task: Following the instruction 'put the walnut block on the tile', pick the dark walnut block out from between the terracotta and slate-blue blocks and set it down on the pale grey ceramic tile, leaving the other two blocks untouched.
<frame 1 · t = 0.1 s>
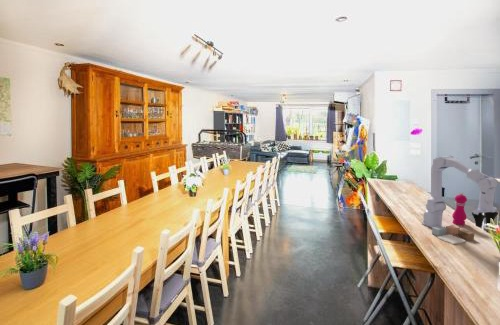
hand: (483, 225, 149), 10 cm above the table, tool pointing down, fingers open, 7 cm apart
pepper mill: (458, 223, 180), on the table
terracotta block: (452, 233, 165), on the table
walnut block: (465, 238, 158), on the table
slate block: (438, 234, 164), on the table
grey tile: (451, 239, 156), on the table
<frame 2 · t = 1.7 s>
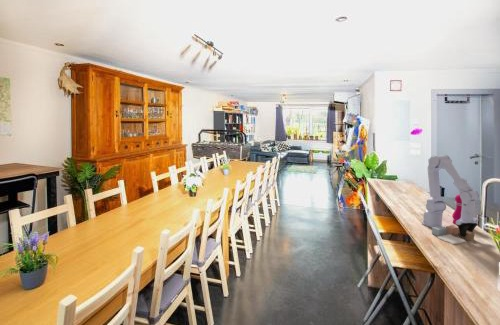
hand: (465, 235, 158), 1 cm above the table, tool pointing down, fingers closed on walnut block, 4 cm apart
walnut block: (465, 238, 158), on the table, touching gripper
everything else where it was.
when the fingers open (4 cm above the table, at t = 5.0 s): walnut block drops 1 cm, resting on grey tile.
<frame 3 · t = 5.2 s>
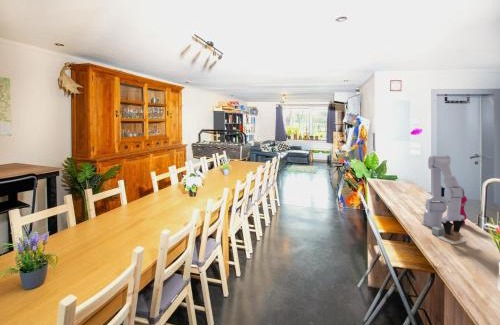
hand: (451, 233, 155), 4 cm above the table, tool pointing down, fingers open, 6 cm apart
walnut block: (451, 238, 156), point 1 cm above the table, touching grey tile
everything else where it was.
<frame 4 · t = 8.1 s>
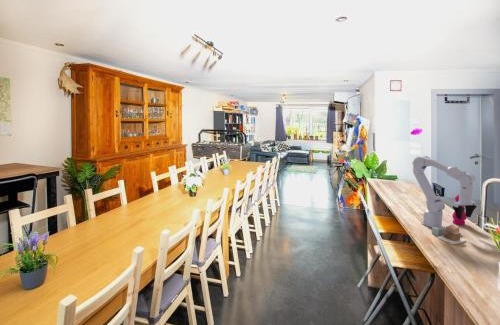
hand: (463, 217, 163), 9 cm above the table, tool pointing down, fingers open, 7 cm apart
nothing on the table moved.
at the end: walnut block 0.1 cm off-centre on the grey tile, point 0.8 cm above the grey tile's base; terracotta block moved 0.2 cm from its start; slate block moved 0.2 cm from its start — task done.
